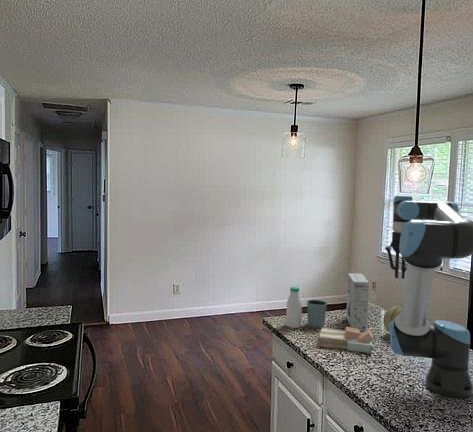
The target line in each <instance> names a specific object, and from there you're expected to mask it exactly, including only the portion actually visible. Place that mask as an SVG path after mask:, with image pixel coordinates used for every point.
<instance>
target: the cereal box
mask: <svg viewBox="0 0 473 432" xmlns="http://www.w3.org/2000/svg"><path fill="white" fill-rule="evenodd" d="M346 289H347V291H346V293H347V294H346V298H347V299H346V316H345V317H346V320H347V322H348V324H349V327H351V328H356V329H360V332H364V331H366V330H367V329H368V316H369V314H368V313H369V294H370V293H369V292H370V291H369V289H370V282H369V281H368V280H367V278H366V277H365V275H364V274H362V273H354V272H353V273H352V272H351V273H350V272H349V273H348V274H347V288H346Z"/></svg>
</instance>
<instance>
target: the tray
mask: <svg viewBox="0 0 473 432" xmlns="http://www.w3.org/2000/svg"><path fill="white" fill-rule="evenodd" d="M363 332H364V331H360V334H361V333H363ZM360 334H359V335H360ZM372 341H373V340H370V341H369V342H367V343H366V344H362V343H359V342H358V340H356V339H352V338H348V337H347V349H346V351H350V352H360V353H367V354H372V353H373V352H372V350H373V343H372Z"/></svg>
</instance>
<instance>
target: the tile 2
mask: <svg viewBox="0 0 473 432" xmlns="http://www.w3.org/2000/svg"><path fill="white" fill-rule="evenodd" d="M362 332H363V333H361V334H360V335H359V340H358V342H359V343H362V344H366V343H367V342H369V341H370V340H371V341H373V339H374V336H373V333H372V332H371V331H370V329H369V328H367V330H366V331H362Z"/></svg>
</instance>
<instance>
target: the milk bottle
mask: <svg viewBox="0 0 473 432" xmlns="http://www.w3.org/2000/svg"><path fill="white" fill-rule="evenodd" d="M289 293H290V294H289V297H288V299H287V301H286V312H285V313H286V317H285V325H286V327H288V328H292V329H298V328H301V327H302V312H303V310H302V309H303V308H302V306H303V305H302V300H301V297H300V287H297V286H291V287H290V288H289Z"/></svg>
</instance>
